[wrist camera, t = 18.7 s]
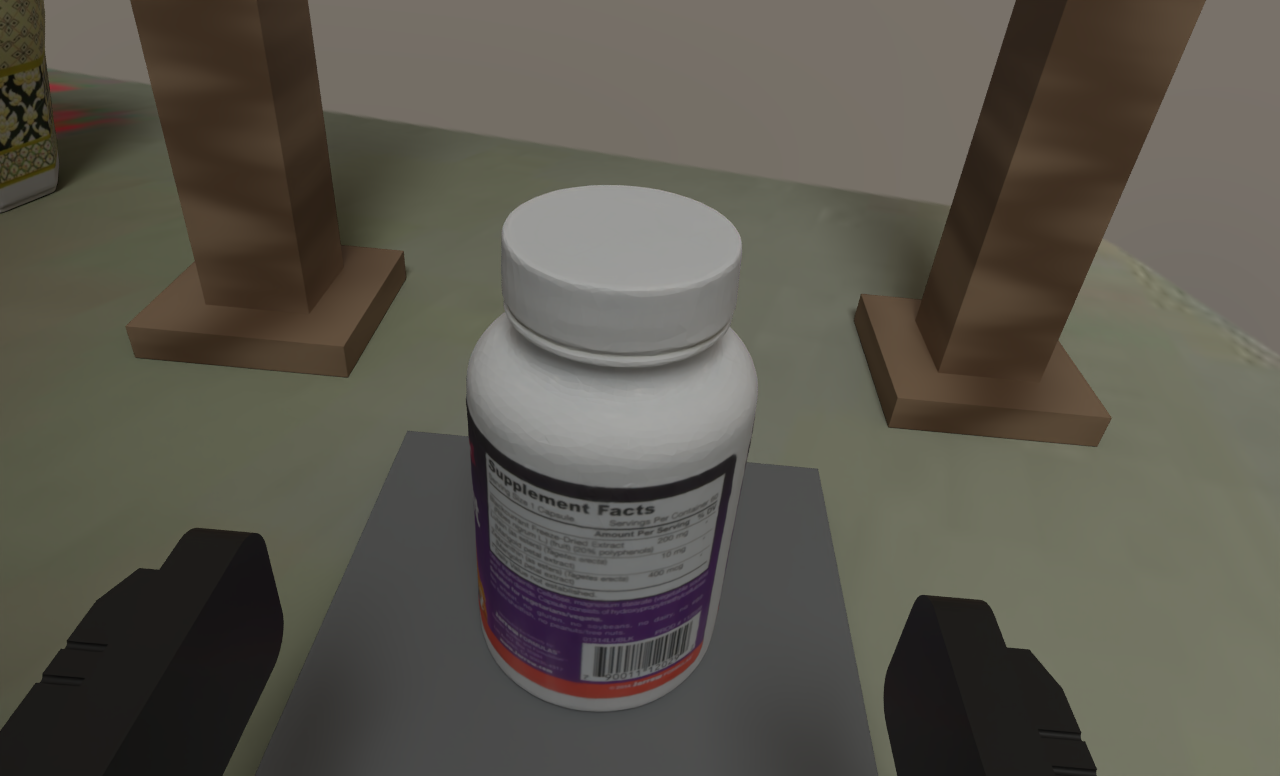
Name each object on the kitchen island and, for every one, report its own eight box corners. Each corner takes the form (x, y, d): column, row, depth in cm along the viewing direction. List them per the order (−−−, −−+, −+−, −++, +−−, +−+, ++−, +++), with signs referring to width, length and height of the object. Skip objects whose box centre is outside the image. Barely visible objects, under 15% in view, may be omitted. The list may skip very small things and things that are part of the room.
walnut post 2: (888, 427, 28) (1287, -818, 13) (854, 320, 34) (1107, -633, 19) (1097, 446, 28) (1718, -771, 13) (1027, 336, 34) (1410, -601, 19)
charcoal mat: (227, 878, 15) (219, 856, 15) (409, 452, 25) (407, 430, 24) (894, 936, 15) (906, 916, 15) (812, 489, 25) (817, 468, 24)
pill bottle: (545, 507, 22) (551, 147, 17) (740, 574, 21) (818, 206, 15) (430, 664, 18) (386, 255, 12) (665, 762, 17) (734, 350, 11)
